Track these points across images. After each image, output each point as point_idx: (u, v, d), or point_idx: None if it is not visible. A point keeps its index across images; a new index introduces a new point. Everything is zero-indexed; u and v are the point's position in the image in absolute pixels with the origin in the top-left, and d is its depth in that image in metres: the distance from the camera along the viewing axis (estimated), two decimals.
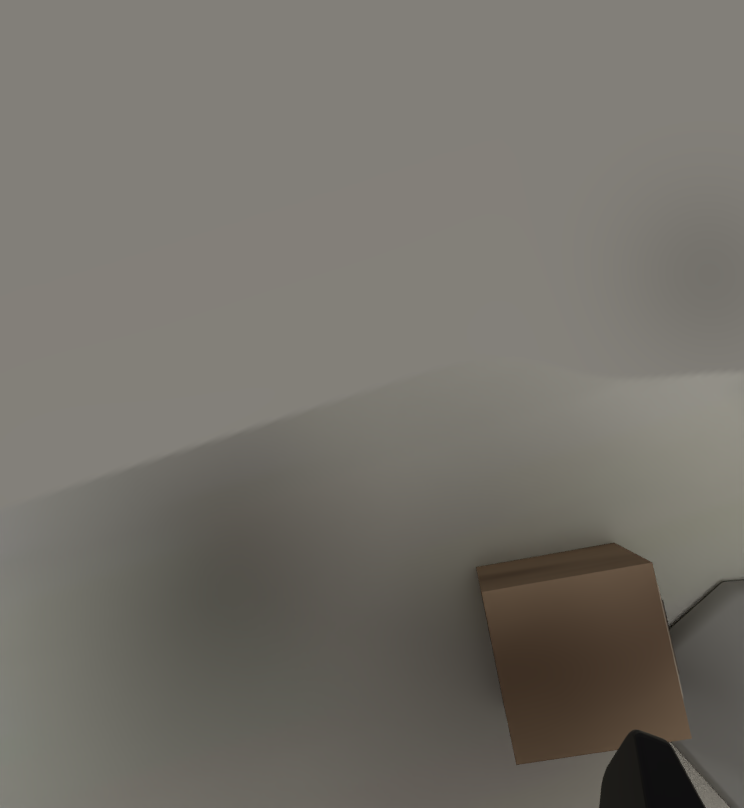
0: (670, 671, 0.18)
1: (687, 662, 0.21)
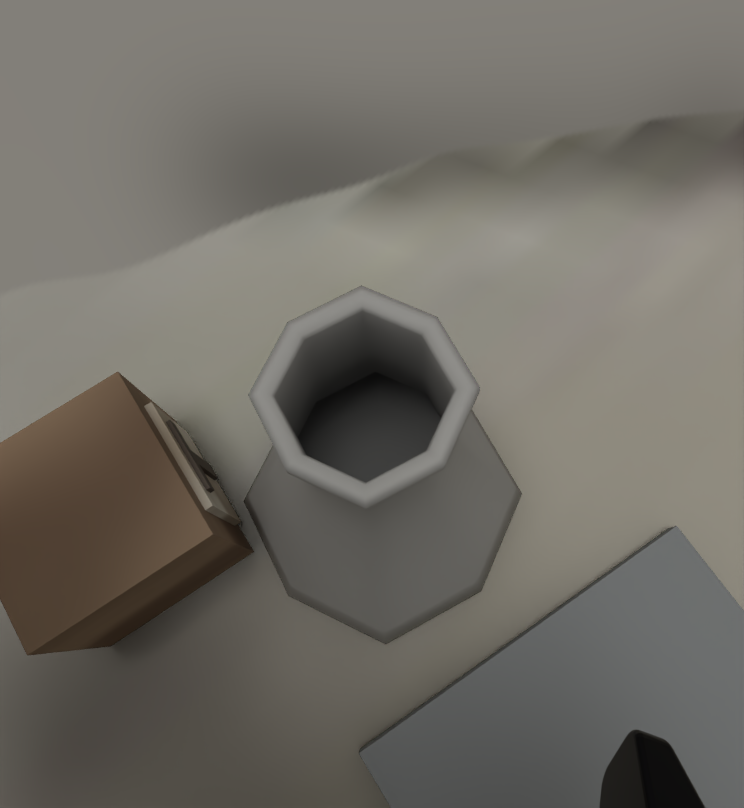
0: (170, 473, 0.16)
1: (252, 490, 0.18)
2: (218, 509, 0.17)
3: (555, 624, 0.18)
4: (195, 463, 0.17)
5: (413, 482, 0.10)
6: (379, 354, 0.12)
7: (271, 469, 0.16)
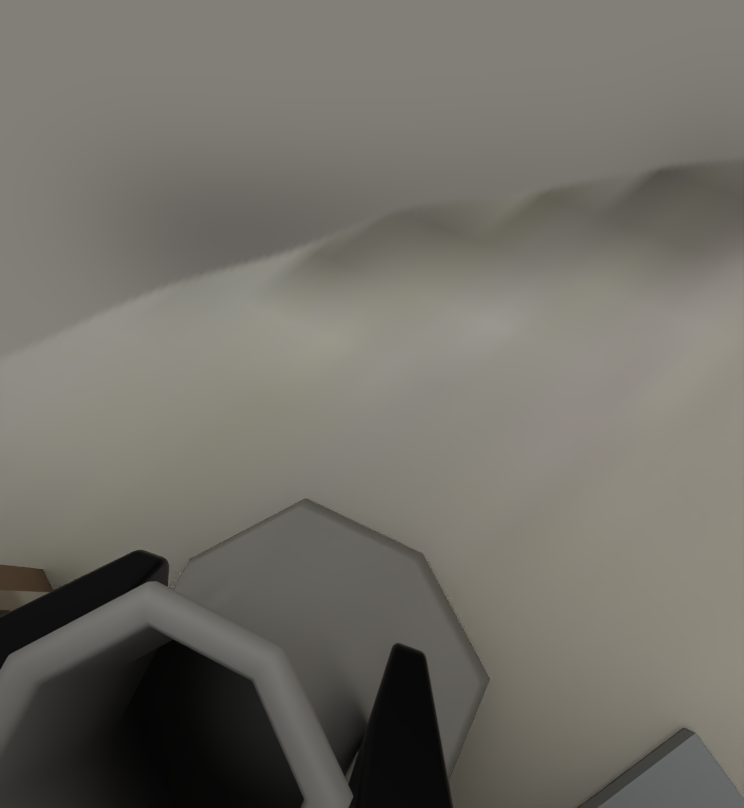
0: None
1: None
2: None
3: None
4: None
5: None
6: None
7: None
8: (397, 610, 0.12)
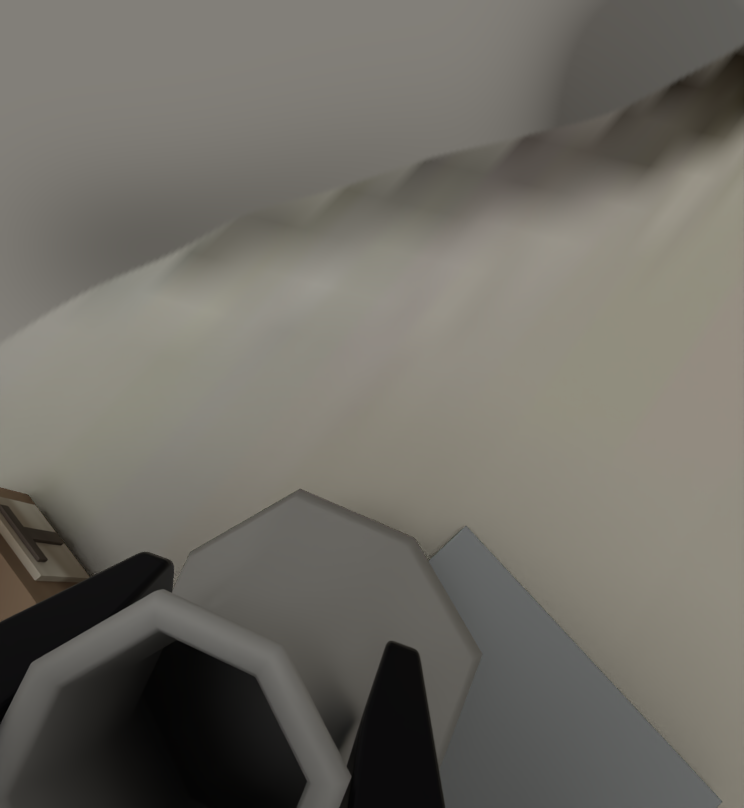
0: None
1: None
2: (51, 576, 0.19)
3: None
4: (26, 539, 0.19)
5: None
6: None
7: None
8: (391, 595, 0.13)
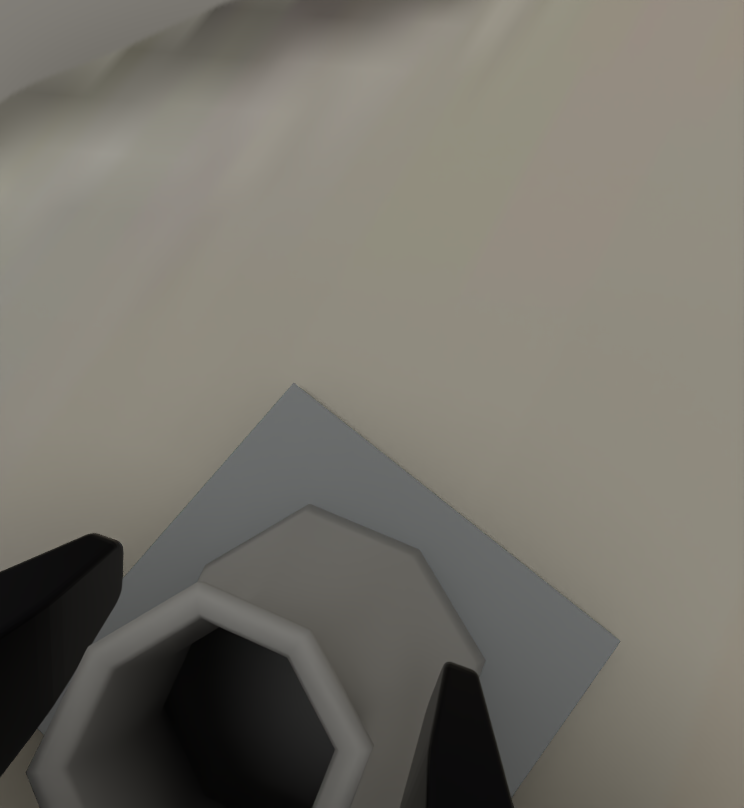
0: None
1: None
2: None
3: (191, 513, 0.18)
4: None
5: None
6: None
7: None
8: (399, 600, 0.14)
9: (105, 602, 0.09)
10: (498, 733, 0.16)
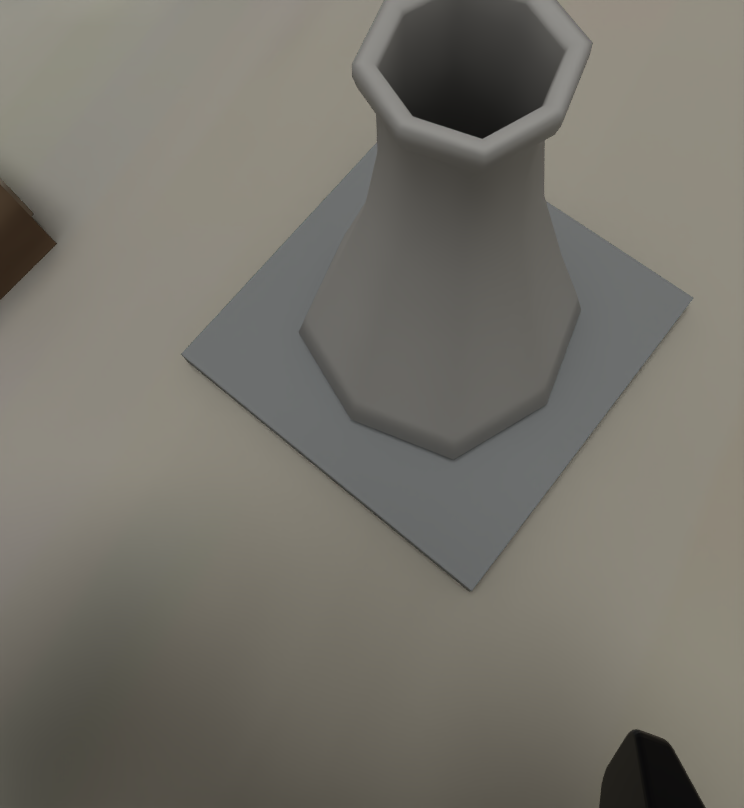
0: None
1: (311, 307, 0.18)
2: None
3: (324, 210, 0.21)
4: None
5: (531, 134, 0.10)
6: (466, 70, 0.12)
7: (338, 260, 0.16)
8: None
9: None
10: (593, 367, 0.19)
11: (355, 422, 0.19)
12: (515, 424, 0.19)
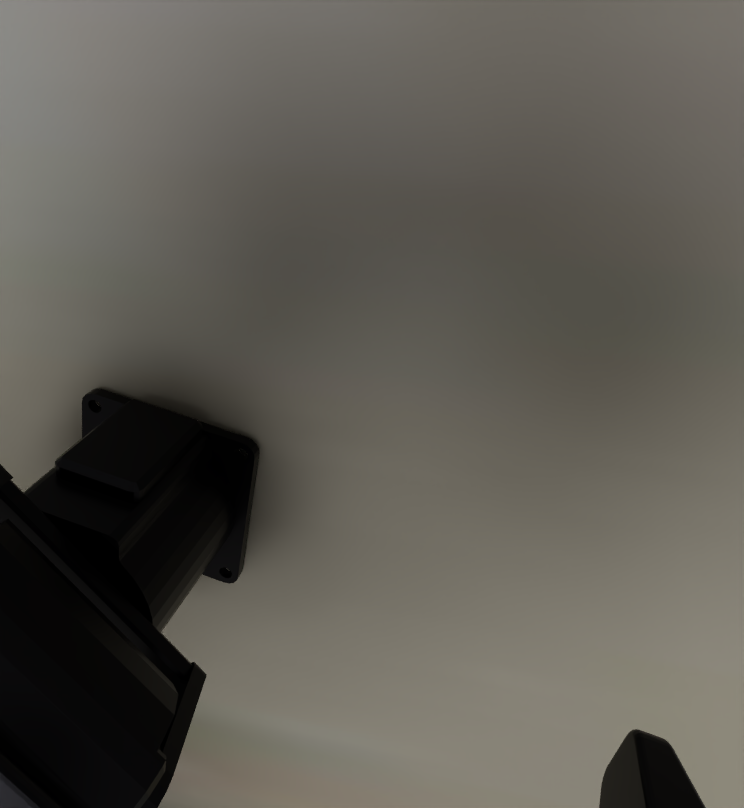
0: None
1: None
2: None
3: None
4: None
5: None
6: None
7: None
8: None
9: None
10: None
11: None
12: None
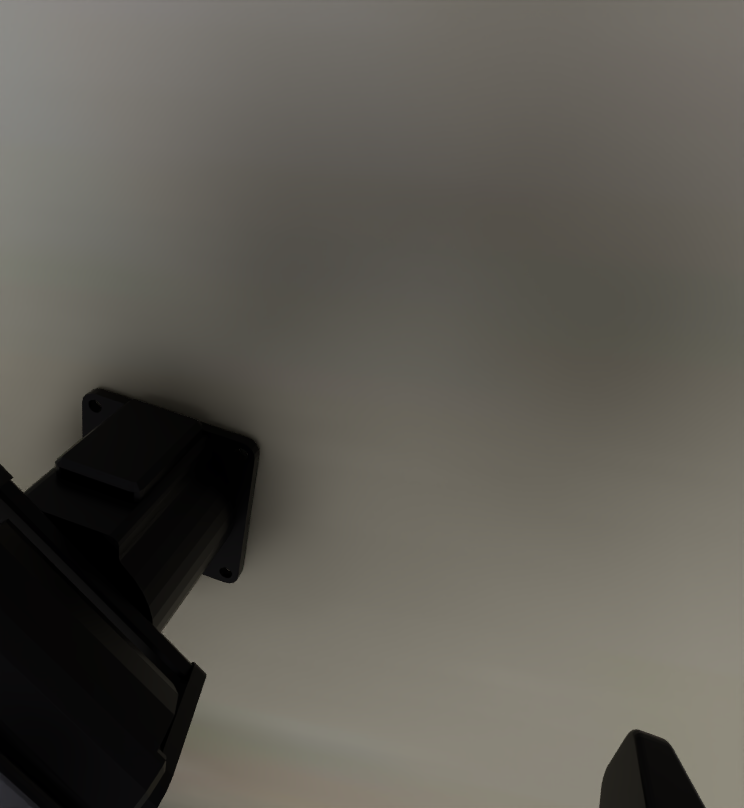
0: None
1: None
2: None
3: None
4: None
5: None
6: None
7: None
8: None
9: None
10: None
11: None
12: None
